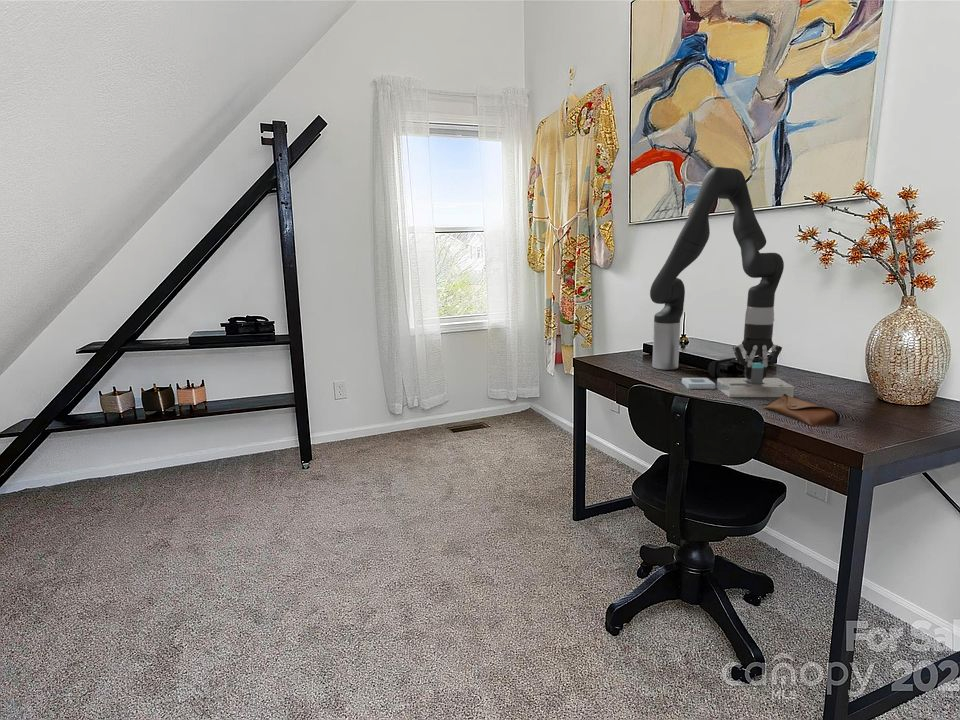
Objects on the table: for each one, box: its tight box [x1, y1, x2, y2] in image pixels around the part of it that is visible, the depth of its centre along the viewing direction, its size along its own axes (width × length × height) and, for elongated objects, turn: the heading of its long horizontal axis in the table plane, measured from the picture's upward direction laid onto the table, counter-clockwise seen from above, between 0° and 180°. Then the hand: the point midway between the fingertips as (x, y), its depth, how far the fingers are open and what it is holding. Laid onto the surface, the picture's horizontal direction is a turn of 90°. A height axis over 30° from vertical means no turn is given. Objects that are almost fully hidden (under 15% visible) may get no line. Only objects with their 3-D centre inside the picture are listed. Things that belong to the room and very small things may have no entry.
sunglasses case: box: [763, 394, 841, 427], centre depth 144 cm, size 18×7×7 cm, turn 15°
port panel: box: [716, 377, 795, 398], centre depth 164 cm, size 18×11×4 cm, turn 84°
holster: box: [681, 377, 716, 390], centre depth 173 cm, size 8×8×2 cm
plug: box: [747, 362, 764, 384], centre depth 163 cm, size 3×3×7 cm
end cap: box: [707, 357, 745, 378], centre depth 184 cm, size 10×7×7 cm
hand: (754, 378), depth 163 cm, fingers closed on plug, 3 cm apart
